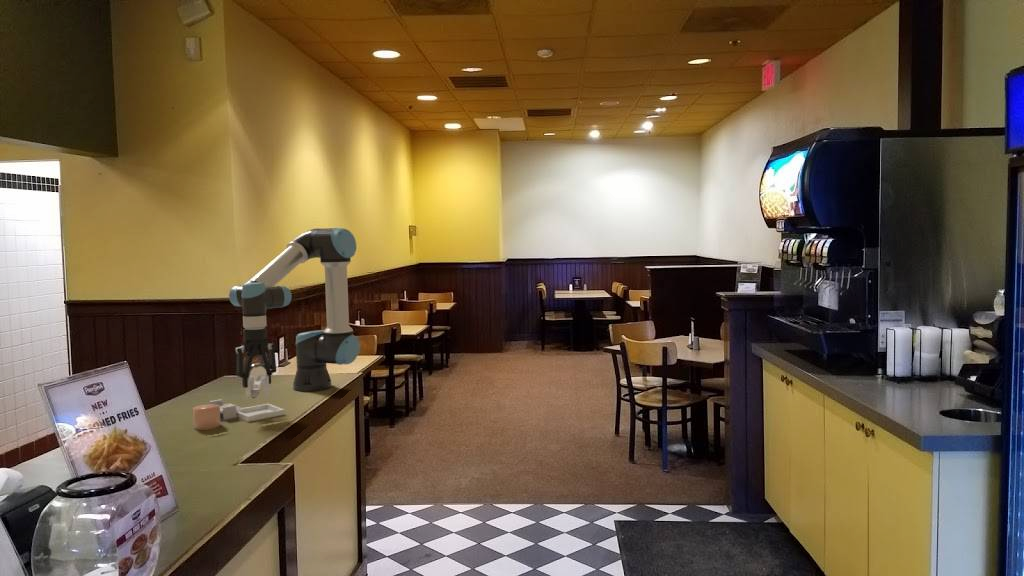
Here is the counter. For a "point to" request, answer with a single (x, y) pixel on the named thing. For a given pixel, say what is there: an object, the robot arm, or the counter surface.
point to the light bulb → (256, 378)
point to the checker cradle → (226, 411)
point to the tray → (260, 412)
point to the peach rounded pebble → (206, 417)
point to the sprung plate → (228, 405)
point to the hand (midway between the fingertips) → (257, 395)
